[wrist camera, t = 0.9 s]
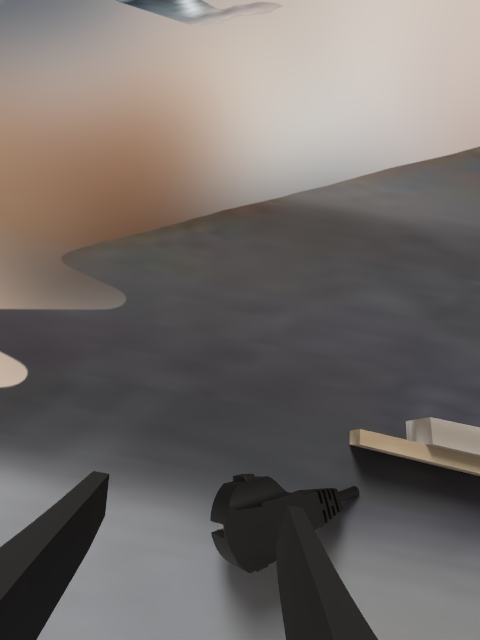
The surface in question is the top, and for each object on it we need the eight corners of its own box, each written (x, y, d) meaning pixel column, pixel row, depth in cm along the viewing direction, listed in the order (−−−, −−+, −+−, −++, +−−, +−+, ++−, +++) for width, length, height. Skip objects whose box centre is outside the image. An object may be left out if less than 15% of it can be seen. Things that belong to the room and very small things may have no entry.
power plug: (377, 533, 19) (250, 604, 14) (311, 521, 25) (200, 567, 19) (351, 453, 22) (235, 483, 16) (296, 458, 28) (195, 482, 22)
